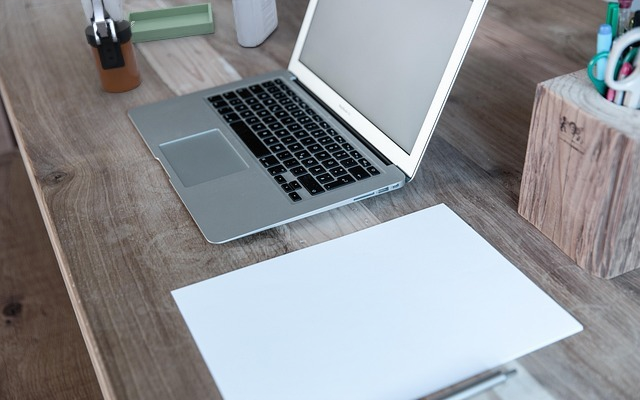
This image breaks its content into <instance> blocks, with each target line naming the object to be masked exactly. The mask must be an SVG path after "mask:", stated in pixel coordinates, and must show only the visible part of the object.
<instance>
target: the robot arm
mask: <svg viewBox="0 0 640 400" xmlns="http://www.w3.org/2000/svg"><path fill="white" fill-rule="evenodd" d="M80 4H81V7H82V9H83V13H84V16H85V19H86V22H87V25H88V26H89V25H91V26H93V27H94V32H95V37H96V46H97V50H98V54H99V58H100V61H101V65H102V68H103V69H104V70H108V69H114V68H121V67H124V66H125V61H124V57H123V53H122V49H121V45H120V40H119V39H117V36H116V31H115V26H114V21H119V22H122V21H123V19H124V20H125V17H124V16H125V15H124V4H123V0H80ZM113 20H114V21H113ZM107 26H110V28H111V29H110V28H109V27H107Z"/></svg>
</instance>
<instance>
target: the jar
mask: <svg viewBox="0 0 640 400" xmlns="http://www.w3.org/2000/svg"><path fill="white" fill-rule="evenodd" d="M120 45H121V49H122V53H123V57H124V61H125V66H124V67H121V68H114V69H108V70H104V69H103V68H102V65H101V61H100V58H99V54H98V50H97V47H95V46H91V45H89V47H90V50H91V54H92V57H93V61H94V64H95V65H94V66H95V68H96V72H97V75H98V80H99V84H100V88H101V89H102V90H103V91H104V92H106V93H112V94H114V93H115V94H117V93H124V92H128V91H131V90H134V89H136V88H137V87H139V86H140V85H141V84H142V81H143V79H142V76H141V71H140V68H139V63H138V59H137V55H136V51H135V46H134V43H133V42H132V37H131V38H130V39H129V40H127V41H126V42H124V43H121V44H120Z"/></svg>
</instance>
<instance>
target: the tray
mask: <svg viewBox="0 0 640 400" xmlns="http://www.w3.org/2000/svg"><path fill="white" fill-rule="evenodd" d="M125 20H127V21H128V22H129V23H130V27H131V26H132V25H133V24H134V25H133V26H132V27H131V31H132V42H133V44H137V43H145V42H152V41H161V40H168V39H177V38H185V37H194V36H201V35H208V34H215V23H214V11H213V6H212V2H203V3H196V4H187V5H178V6H169V7H163V8H162V7H161V8H154V9H146V10H138V11H128V12H126V15H125ZM132 21H135V22H134V23H133V24H132V25H131V22H132Z"/></svg>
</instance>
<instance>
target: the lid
mask: <svg viewBox="0 0 640 400" xmlns="http://www.w3.org/2000/svg"><path fill="white" fill-rule="evenodd" d="M113 21H114V20H113ZM114 26H115V31H116V36H117V39H119V40H120V44H121V43H124V42H126V41H127V40H129V39H130V38H131V37H132V31H131V27H130V23H129V22H128V21H127V20H126V19H125V18H124V19H123V21H122V22H119V21H114ZM107 27H109V28H110V26H107ZM110 29H111V28H110ZM84 34H85V38H86V41H87V44H88V45H89V46H90V45H91V46H95V47H97V46H96V37H95V32H94V27H93V26H91V25H89V24H88V25H87V27H85V28H84Z"/></svg>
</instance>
